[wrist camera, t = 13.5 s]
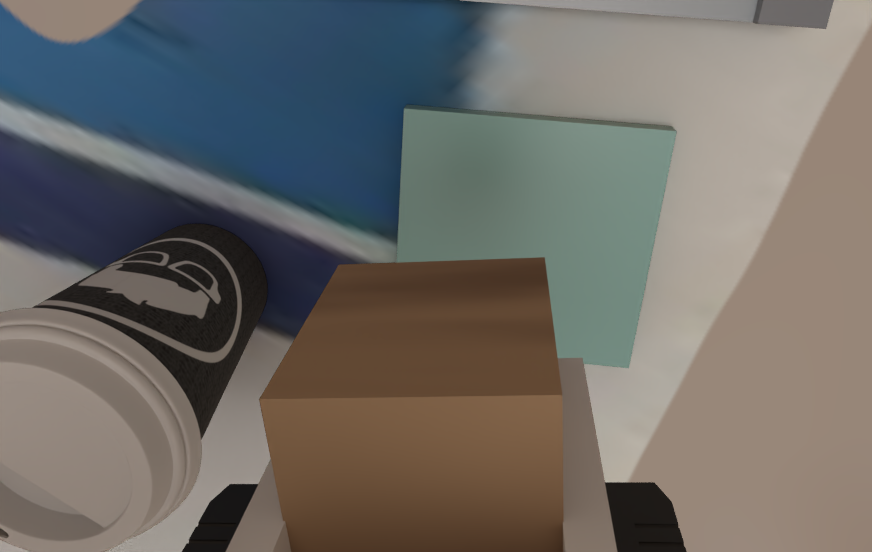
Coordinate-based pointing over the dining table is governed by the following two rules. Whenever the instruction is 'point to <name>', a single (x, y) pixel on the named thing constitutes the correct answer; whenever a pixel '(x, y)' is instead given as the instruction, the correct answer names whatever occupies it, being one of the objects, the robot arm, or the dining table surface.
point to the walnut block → (422, 412)
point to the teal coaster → (541, 210)
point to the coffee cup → (120, 389)
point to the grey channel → (706, 9)
